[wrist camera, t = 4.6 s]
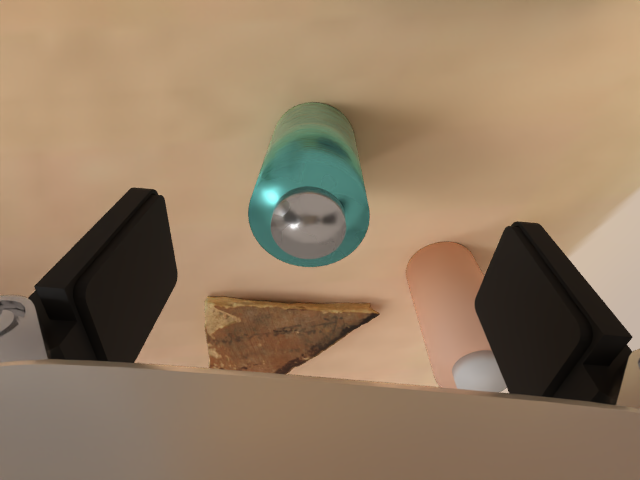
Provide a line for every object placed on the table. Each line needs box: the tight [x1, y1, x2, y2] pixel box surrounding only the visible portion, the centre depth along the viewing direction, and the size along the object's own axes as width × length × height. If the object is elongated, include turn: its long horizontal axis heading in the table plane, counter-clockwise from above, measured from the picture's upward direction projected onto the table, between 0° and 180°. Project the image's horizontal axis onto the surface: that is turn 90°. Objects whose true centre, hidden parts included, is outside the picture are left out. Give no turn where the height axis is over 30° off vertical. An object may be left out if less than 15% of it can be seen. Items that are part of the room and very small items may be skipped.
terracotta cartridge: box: [406, 242, 507, 392], centre depth 19 cm, size 4×4×8 cm
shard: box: [205, 296, 379, 374], centre depth 26 cm, size 11×8×2 cm
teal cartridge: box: [248, 102, 370, 267], centre depth 15 cm, size 4×4×8 cm
